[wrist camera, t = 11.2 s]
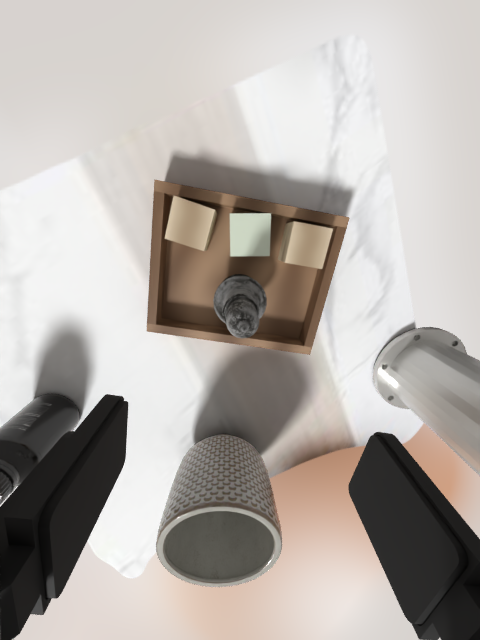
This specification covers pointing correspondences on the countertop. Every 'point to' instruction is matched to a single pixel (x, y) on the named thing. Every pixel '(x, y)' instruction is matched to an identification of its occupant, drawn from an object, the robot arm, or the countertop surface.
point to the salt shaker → (240, 304)
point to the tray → (216, 265)
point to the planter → (220, 516)
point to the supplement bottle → (32, 437)
